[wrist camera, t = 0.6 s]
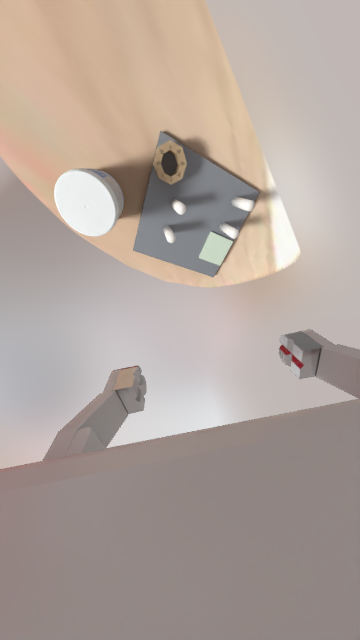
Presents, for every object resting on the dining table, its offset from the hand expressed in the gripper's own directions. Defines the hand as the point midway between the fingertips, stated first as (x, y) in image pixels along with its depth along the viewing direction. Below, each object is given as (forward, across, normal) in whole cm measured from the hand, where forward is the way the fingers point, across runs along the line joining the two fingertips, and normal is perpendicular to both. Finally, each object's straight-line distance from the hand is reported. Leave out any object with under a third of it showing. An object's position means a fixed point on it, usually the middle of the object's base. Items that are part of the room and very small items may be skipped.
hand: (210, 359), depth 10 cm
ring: (+40, -3, -20) cm, 45 cm away
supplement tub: (+41, +14, -18) cm, 47 cm away
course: (+44, -7, -9) cm, 46 cm away
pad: (+46, -12, -1) cm, 47 cm away
